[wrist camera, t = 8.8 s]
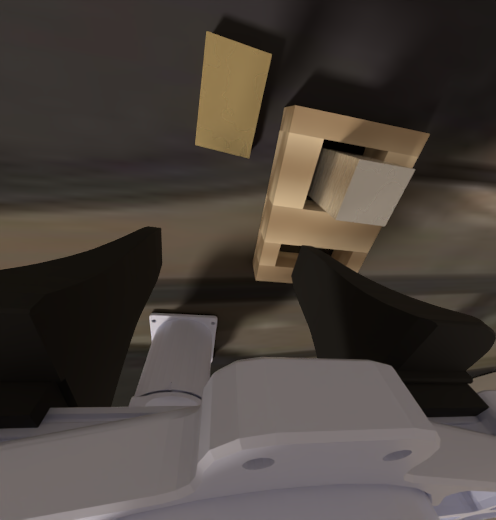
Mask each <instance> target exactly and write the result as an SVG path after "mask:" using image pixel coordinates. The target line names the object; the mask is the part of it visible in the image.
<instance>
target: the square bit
mask: <svg viewBox="0 0 496 520" xmlns="http://www.w3.org/2000/svg"><path fill="white" fill-rule="evenodd" d="M415 170H416V169H412V168H408V167H404V166H401V165H397V164H393V163H389V162H386V161H382V160H378V159H374V158H371V157H367V156H363V155H359V154H355V153H350V152H345V151H340V150H334V149H329V148H324V147H322V148H321V151H320V154H319V158H318V161H317V164H316V167H315V171H314V174H313V177H312V181H311V184H310V187H309V190H308V194H307V195H309V196H310V197H311V198H312V199H313V200H314V201H315V202H316V203H317V204H318V205H319V206H321V207H322V208H323V209H324V210H325V211H326V212H327V213H328V214H329V215H330V216H331V217H333V218H334V219H335V220H339V221H347V222H354V223H362V224H370V225H377V226H386V224H387V222H388V220H389V218H390V216H391V214H392V212H393V211H394V209H395V207H396V205H397V203H398V201H399V199H400V198H401V196H402V194H403V192H404V190H405V188H406V186H407V185H408V183H409V181H410V179H411V177H412V175H413V173H414V171H415Z"/></svg>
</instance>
